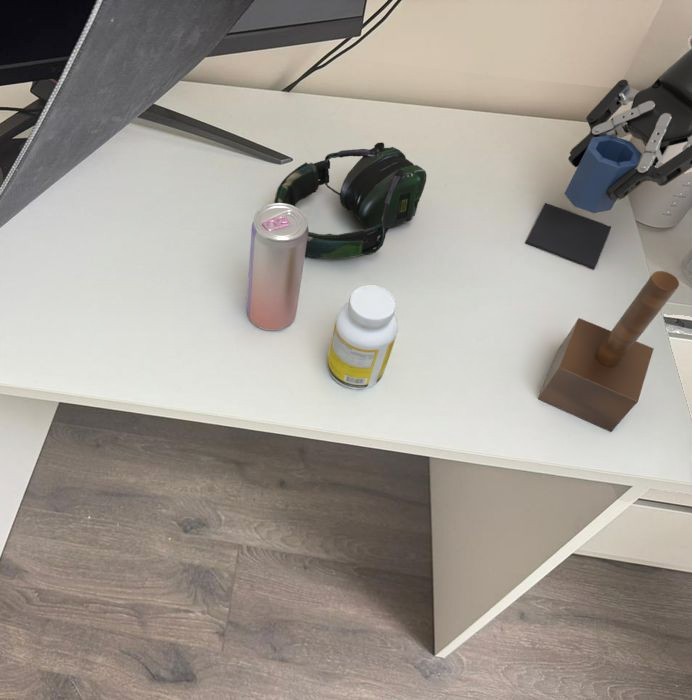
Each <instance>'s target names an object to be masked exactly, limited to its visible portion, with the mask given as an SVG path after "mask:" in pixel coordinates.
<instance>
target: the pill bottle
mask: <svg viewBox="0 0 692 700" xmlns="http://www.w3.org/2000/svg"><path fill="white" fill-rule="evenodd" d="M396 305H397V302H396V299H395V297H394V295H393V294H392V293H391V292H390V291H389V290H387V288H384V287H382V286H380V285H374V284H365V285H362V286H358V287H357V288H355V289H354V290H353V291H352V292H351V294H350V296H349V300H348V302H347V303H345V304H344V305H343V306H341V308H340V309H339V310H338V312H337V314H336V318H335V322H334V327H333V331H332V337H331V341H330V346H329V351H328V356H327V363H326V364H327V370H328V372H329V374H330V375H331V377H332V378H333V379H334V381H335V382H337V383H338V384H339V385H342V386H343V387H346V388H349V389H354V390H364V389H368V388H371V387H373V386H374V385H377V383H379V382H380V381H381V379H382V378H383V375H384V373H385V371H386V368H387V365H388V362H389V359H390V356H391V354H392V351H393V347H394V344H395V341H396V338H397V335H398V331H399V322H398V317H397V315H396V314H395V312H396V308H397V307H396Z"/></svg>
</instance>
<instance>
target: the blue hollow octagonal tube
mask: <svg viewBox="0 0 692 700" xmlns="http://www.w3.org/2000/svg"><path fill="white" fill-rule="evenodd" d="M642 157H643V154H642V152H641V151H640V150H639V148H637V147H636V146H635V145H634V143H633V142H632V141H630V140H627V139H624V138H622V137H615V136H612V135H607V136H600V137H593V138H592V140H591V141H590V143H589V145H588V147H587V149H586V151H585V153H584V155H583V157H582V159H581V161H580V163H579V165H578V166H577V167H576V169H575V171H574V172H573V175H572V177H571V179H570V181H569V183H568V185H567V187H566V189H565V190H564V196H565V197H566V198H567V200H569V202H570V203H571V204H572V206H574V207H575V208H578V209H581V210H583V211H586V212H588V213H591V214H597V213H598V214H599V213H604V212H611V211H612V210H613V208H614V206H615V205H616V203H617V201H618V200H619V199H618V198H617V199H616V200H614V201H612V200H611V199H610V198H609V197H608V196H607V194H606V191H607V190H608V189H609V188H610V187H611V186H612V185H613V184H614V183H616V182H617V181H618V180H619V179H620V178H622V177H623V176H624V175H625V174H626V173H627V172H629V171H630V170H631V169H632V168H633V169H634V170H636V169H637V167H638V165H639V163H640V161H641V159H642Z"/></svg>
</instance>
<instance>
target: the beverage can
mask: <svg viewBox="0 0 692 700" xmlns="http://www.w3.org/2000/svg"><path fill="white" fill-rule="evenodd" d="M250 230H251V232H250V247H249V248H250V249H249V265H248V280H247V296H246V313H247V317H248V319H249V320H250V321H251V323H253V324H254V325H255V326H256V327H257V328H260V329H262V330H266V331H273V332H274V331H279V330H282V329H285V328H286V327H288V326H289V325H291V324H292V323H293V322H294V320H295V318H296V316H297V313H298V304H299V299H300V292H301V286H302V285H301V284H302V279H303V272H304V265H305V259H306V255H305V252H306V245H307V239H308V232H309V221H308V217H307V216H306V213H305V212H303V211H302V210H301V209H300V208H298V207H297V206H296V207H295V206H293V205H290V204H285V203H274V202H273V203H270V204H269V203H268V204H266V205H264V206H262V207H261V208H259V210H258V211H256V213H255V215H254V218H253V221H252V224H251V229H250Z"/></svg>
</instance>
